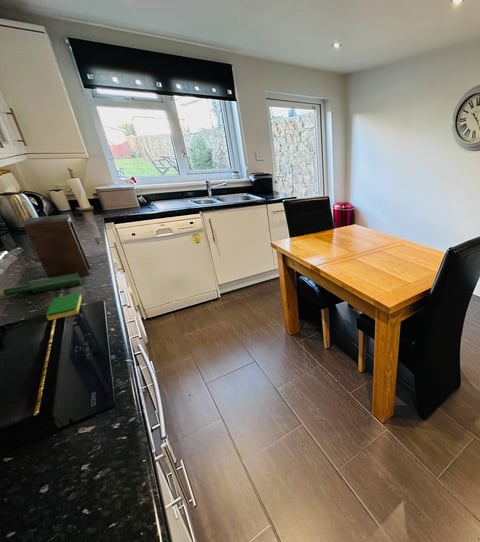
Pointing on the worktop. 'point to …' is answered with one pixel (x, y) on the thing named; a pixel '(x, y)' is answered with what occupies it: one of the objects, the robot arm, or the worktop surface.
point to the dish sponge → (64, 306)
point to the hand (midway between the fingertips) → (18, 252)
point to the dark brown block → (57, 245)
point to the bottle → (44, 285)
